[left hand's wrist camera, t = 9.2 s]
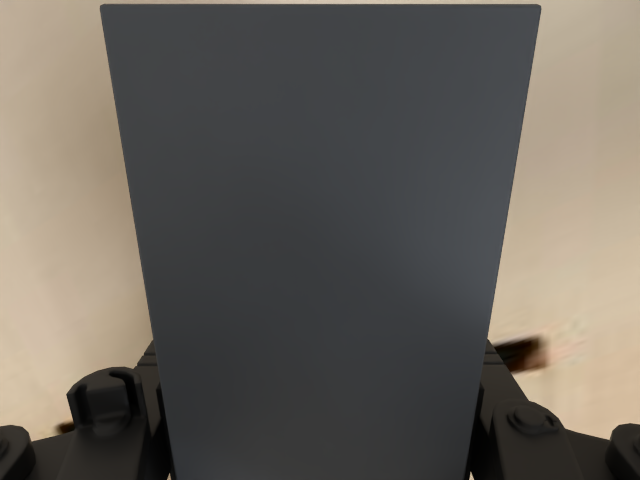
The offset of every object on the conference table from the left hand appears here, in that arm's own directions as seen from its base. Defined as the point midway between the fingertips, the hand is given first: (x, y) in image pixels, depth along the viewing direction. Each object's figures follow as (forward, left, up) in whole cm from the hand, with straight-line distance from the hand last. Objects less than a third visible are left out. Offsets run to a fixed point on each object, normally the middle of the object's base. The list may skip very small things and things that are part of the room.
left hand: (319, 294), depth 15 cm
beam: (+21, +9, -1) cm, 23 cm away
